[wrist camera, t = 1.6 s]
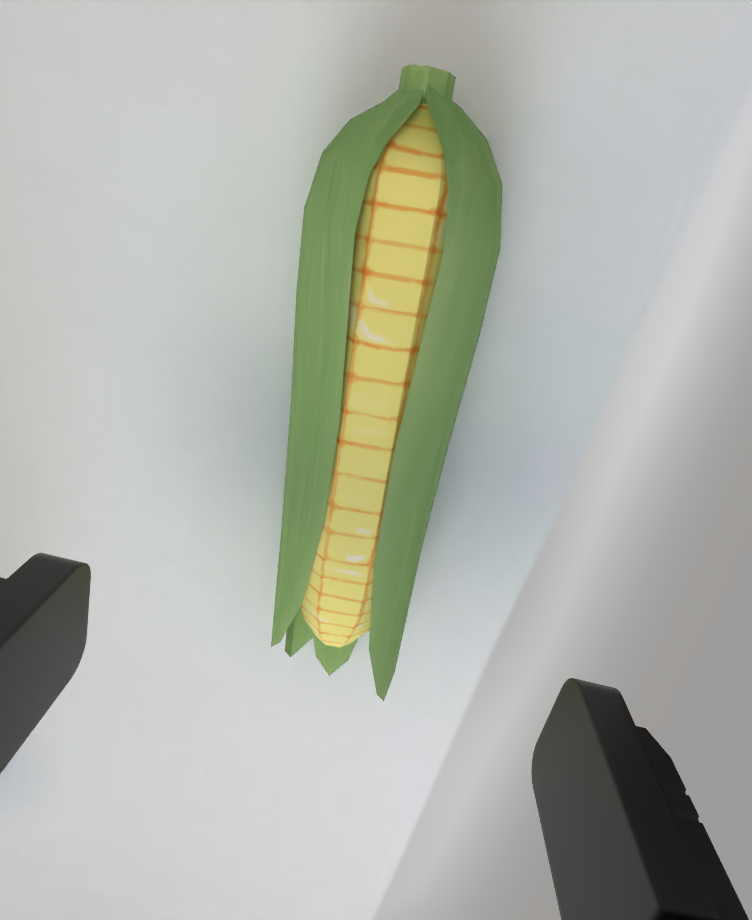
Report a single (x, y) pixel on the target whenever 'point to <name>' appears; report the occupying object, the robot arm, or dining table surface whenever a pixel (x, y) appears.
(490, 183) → the edible corn
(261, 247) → the dining table surface
